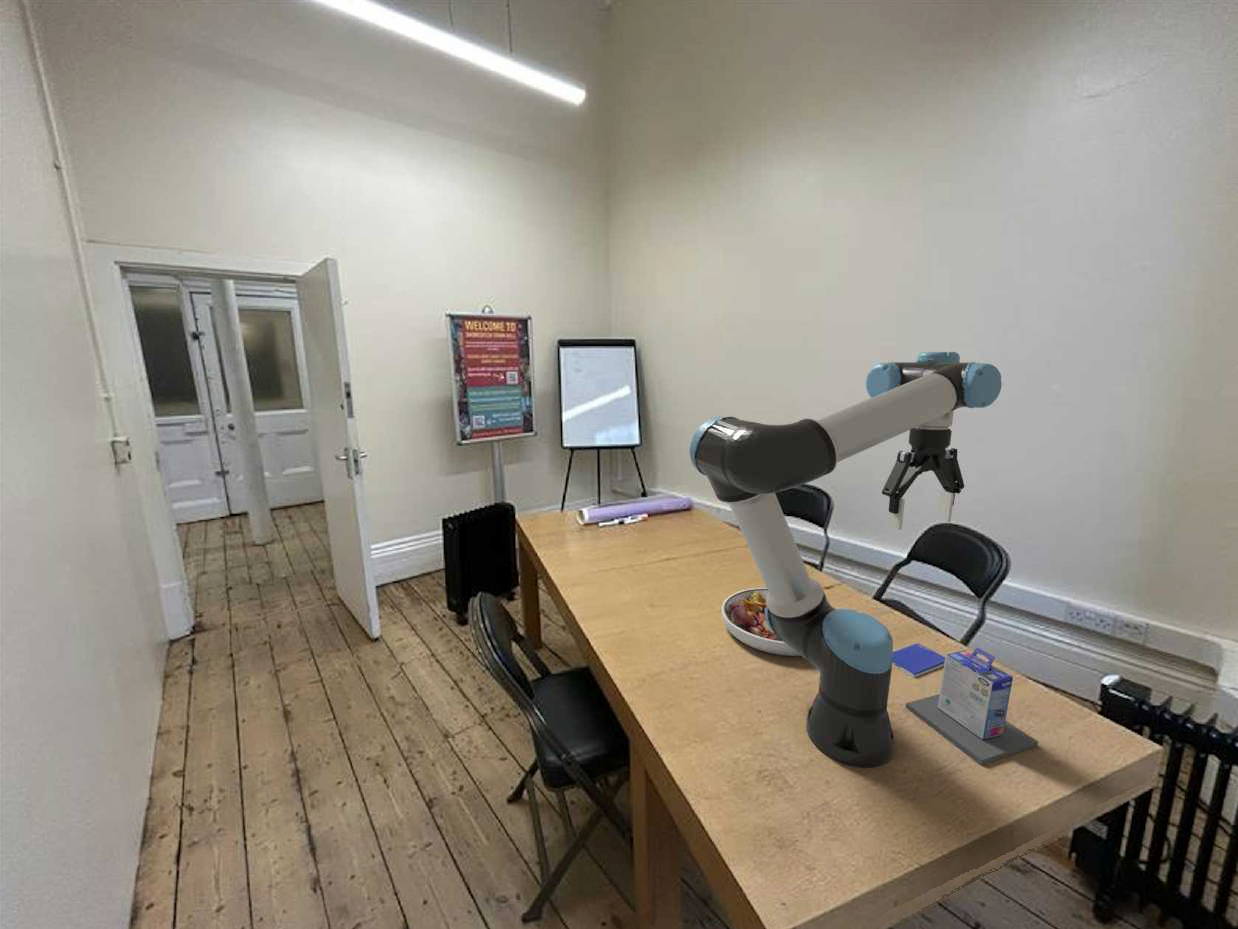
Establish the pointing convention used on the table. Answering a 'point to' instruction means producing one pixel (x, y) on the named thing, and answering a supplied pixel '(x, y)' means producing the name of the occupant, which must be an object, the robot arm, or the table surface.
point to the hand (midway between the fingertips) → (919, 524)
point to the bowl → (753, 621)
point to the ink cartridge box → (975, 693)
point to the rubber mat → (971, 733)
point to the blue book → (917, 660)
